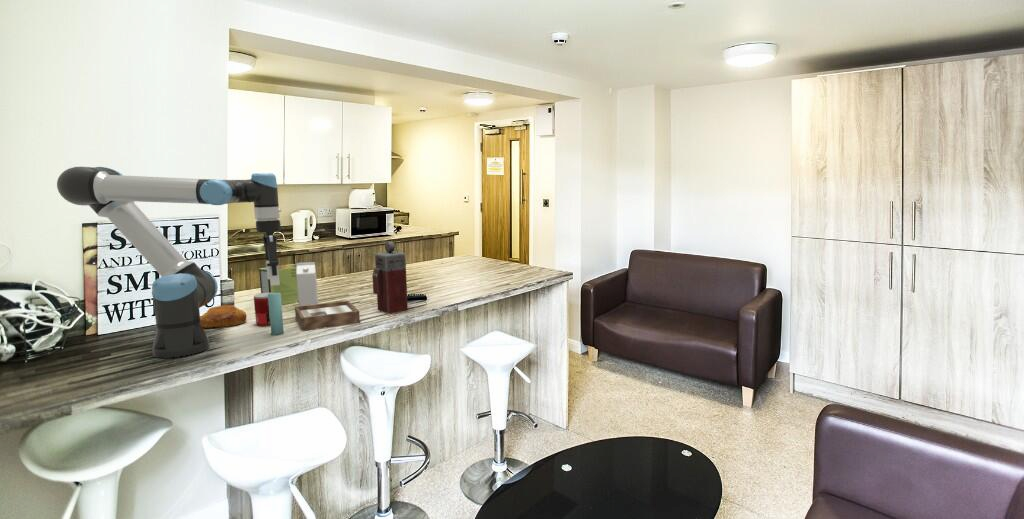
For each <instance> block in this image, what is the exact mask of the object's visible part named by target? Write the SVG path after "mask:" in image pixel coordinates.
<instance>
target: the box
mask: <svg viewBox="0 0 1024 519" xmlns="http://www.w3.org/2000/svg"><path fill="white" fill-rule="evenodd" d="M294 313H295V314H294V315H295V316H294V317H295V320H296V321H298V322H297V323H298V325H299V327H300V329H301V331H302V330H304V331H310V330H309V329H312V330H317V329H316V328H319V329H325V328H324V327H326V328H332V327H338V326H339V327H340V326H346V325H354V324H360V323H361V320H360V318H361V316H360V310H359V309H358V308H356V306H354V305H353V304H352V302H350V301H349V300H342V301H341V300H340V301H334V302H324V303H318V304H314V305H306V306H299V305H297V306H294Z"/></svg>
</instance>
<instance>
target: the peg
mask: <svg viewBox="0 0 1024 519" xmlns="http://www.w3.org/2000/svg"><path fill="white" fill-rule="evenodd" d="M268 302H269V314H270V326H269V327H270V334H271V336H280V335H283V334H284V333H285V332H284V331H285V330H284V320H283V319H284V318H283V309H282V308H283V307H282V306H283V305H281V293H270V294H268Z"/></svg>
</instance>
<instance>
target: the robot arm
mask: <svg viewBox="0 0 1024 519" xmlns="http://www.w3.org/2000/svg"><path fill="white" fill-rule="evenodd" d="M250 176H251V178H250V179H216V178H215V179H209V178H208V179H207V178H206V179H205V178H202V179H200V178H186V177H185V178H184V177H164V176H163V177H162V176H160V177H159V176H145V175H144V176H143V175H142V176H141V175H123V173H121V172H120V171H118V170H116V169H113V168H110V167H103V166H95V167H94V166H93V167H92V166H74V167H70V168H67V169H65V170H64V171H63V172H61V174H60V175H59V176H58V178H57V181H56V188H57V190H58V191H57V192H58V193H59V194H60V196H61V198H63V199H64V200H65V201H67V202H68V203H71V204H73V205H77V206H89V207H90V209H92V211H93V212H94V213H95V214H96V215H97V216H98V217H100V218H102V217H103V218H107V219H108V220H109V221H110V222H111V224H113V225H114V227H115V228H116V229H117V230H118V231H119V232H120V233H121V234H122V235H123V237H124V238H126V239H127V240H128V241H129V243H130V244H131V245H132V246H133V247H134V249H136V250H137V252H139V253H140V255H141V256H142V257H143V258H144V259H145V260H146V261H147V262H148V264H150V265H151V267H152V268H153V269H154V270H155V271H156V272H157V273H158V274H159V276H160V277H159V278H157V279H155V280H154V281H153V283H152V284H151V289H152V291H151V296H152V301H153V308H154V317H155V324H156V333H155V335H154V339H153V343H152V347H151V351H152V356H153V355H154V356H157V357H156V358H158V357H168V358H167V359H173V358H172V357H175V358H181V357H180V356H183V357H187V356H186V355H188V356H191V355H190V354H192V355H195V353H196V354H199V353H202V352H204V351H206V350H208V349H209V348H210V340H209V338H208V336H207V334H206V331H205V328H203V327H202V325H201V322H200V317H201V315H200V308H201V307H204V306H206V305H208V304H209V303H210V302H212V300H213V299H214V298H215V297H216V295H217V293H218V283H217V282H218V281H217V279H216V278H215V276H214V275H213V274H212V273H210V272H208V271H206V270H202V269H201V268H200V267H199V265H197V264H196V263H195V262H194V261H189V260H186V258H184V257H183V256H182V254H181V253H180V252H179V251H178V250H177V249H176V247H174V245H173V244H172V243H171V242H170V241H169V240H168V239H167V237H166V236H164V235H163V233H162V232H161V231H160V230H159V228H158V227H156V225H155V224H154V223H153V222H152V221H151V220H150V219H149V218H148V217H147V215H146V214H145V213H144V212H143V211H142V210H141V209H140V208H139V207H138V205H137V204H136V203H135V202H138V203H139V202H140V203H141V202H143V203H148V202H149V203H167V204H169V203H171V204H197V205H198V204H200V205H201V204H202V205H211V206H223V205H227V204H228V205H229V204H239V203H242V204H243V203H253V206H254V207H253V210H254V219H255V220H256V221H255V230H256V232H257V233H263V237H262V242H263V247H264V257H265V260H266V261H265V265H266V267H265V268H267V278H268V279H270V283H271V286H273V285H280V281H279V270H278V266H279V259H278V251H277V248H278V247H277V246H278V245H277V241H278V240H277V237H276V235H275V234H274V232H275V233H276V232H280V231H281V230H282V226H281V220H280V213H281V212H282V209H281V208H279V206H280V205H279V190H278V188H279V187H278V182H277V176H276V175H275V174H274V173H272V172H270V173H269V172H268V173H263V172H262V173H258V172H257V173H252V174H251V175H250ZM198 352H199V353H198ZM154 356H153V357H154ZM170 357H171V358H170Z"/></svg>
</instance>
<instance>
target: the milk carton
mask: <svg viewBox="0 0 1024 519" xmlns="http://www.w3.org/2000/svg"><path fill="white" fill-rule="evenodd" d="M295 265H297V272H296V274H297V288H298V301H299V302H298V306H306V305H314V304H319V294H318V293H319V292H318V279H317V269H316V262H315V261H310V262H308V261H307V262H296V264H295Z"/></svg>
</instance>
